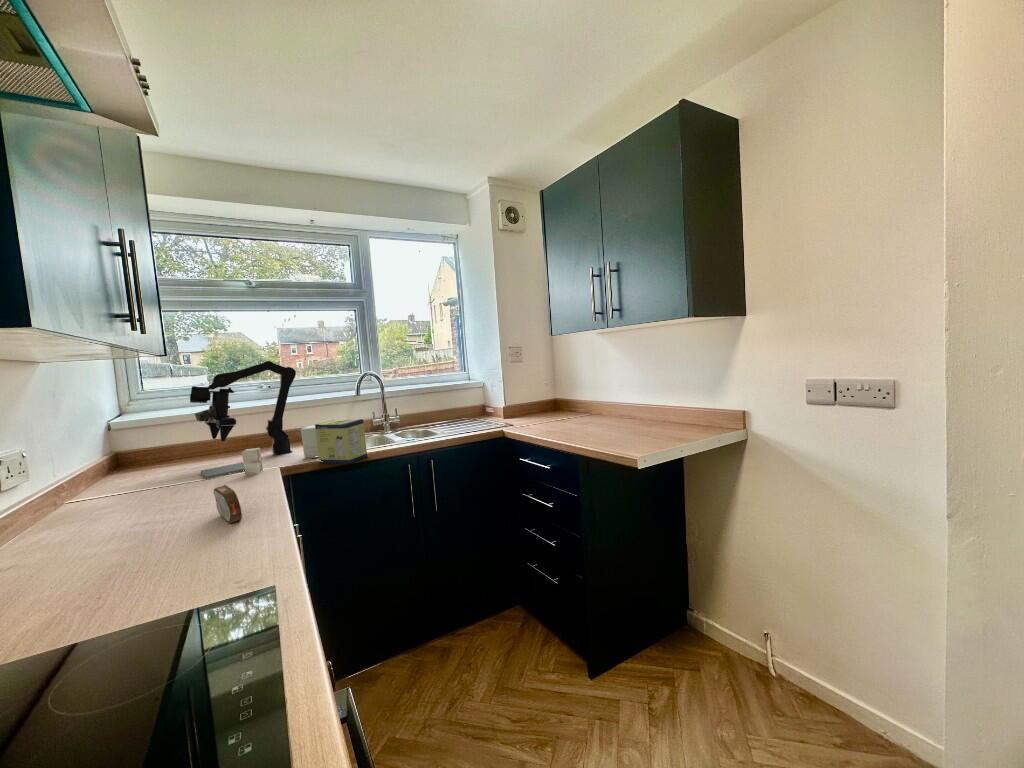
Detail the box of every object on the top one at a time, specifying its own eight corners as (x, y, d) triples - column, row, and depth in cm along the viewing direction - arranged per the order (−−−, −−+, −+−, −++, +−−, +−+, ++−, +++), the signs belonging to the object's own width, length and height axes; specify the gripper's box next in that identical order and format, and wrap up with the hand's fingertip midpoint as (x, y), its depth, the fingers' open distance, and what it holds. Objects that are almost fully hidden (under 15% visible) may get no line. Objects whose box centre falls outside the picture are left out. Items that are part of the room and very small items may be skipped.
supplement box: (329, 452, 186) (326, 424, 185) (320, 457, 179) (316, 427, 178) (313, 453, 187) (310, 425, 186) (303, 458, 179) (300, 428, 178)
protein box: (337, 456, 178) (333, 419, 177) (368, 456, 173) (364, 418, 171) (318, 463, 168) (313, 424, 167) (350, 464, 163) (345, 423, 162)
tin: (244, 523, 109) (239, 491, 108) (229, 527, 107) (225, 495, 106) (228, 511, 119) (224, 481, 119) (215, 515, 117) (210, 485, 116)
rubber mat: (242, 464, 177) (242, 462, 176) (249, 469, 166) (249, 467, 166) (201, 473, 167) (200, 470, 167) (205, 479, 157) (205, 476, 157)
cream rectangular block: (249, 472, 162) (246, 449, 161) (262, 470, 163) (259, 447, 162) (245, 475, 158) (242, 451, 157) (258, 474, 158) (255, 450, 158)
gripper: (189, 401, 180) (187, 438, 180) (206, 405, 169) (204, 444, 169) (219, 401, 189) (217, 437, 189) (237, 404, 178) (235, 442, 178)
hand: (218, 440), depth 181 cm, fingers open, 9 cm apart
